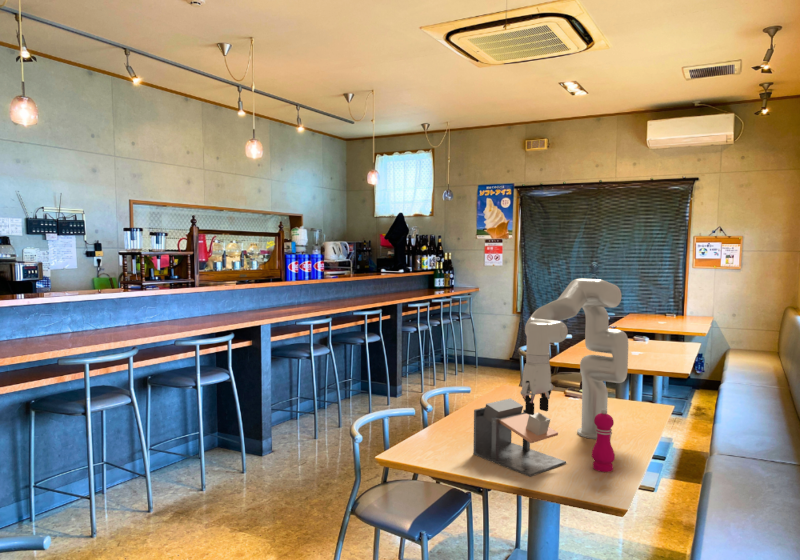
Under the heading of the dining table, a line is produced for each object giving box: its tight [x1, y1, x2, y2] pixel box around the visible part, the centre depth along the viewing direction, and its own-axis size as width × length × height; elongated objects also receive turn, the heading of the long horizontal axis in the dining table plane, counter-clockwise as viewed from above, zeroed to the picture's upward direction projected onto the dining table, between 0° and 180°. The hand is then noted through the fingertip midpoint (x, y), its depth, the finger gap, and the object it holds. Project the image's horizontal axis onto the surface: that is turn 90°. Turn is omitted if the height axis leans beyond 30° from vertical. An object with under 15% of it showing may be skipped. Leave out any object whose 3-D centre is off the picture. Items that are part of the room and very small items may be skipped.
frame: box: [472, 406, 567, 478], centre depth 193 cm, size 19×25×16 cm
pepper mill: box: [591, 409, 616, 473], centre depth 185 cm, size 7×7×20 cm
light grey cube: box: [526, 412, 551, 436], centre depth 187 cm, size 5×5×5 cm
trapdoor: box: [483, 398, 559, 444], centre depth 193 cm, size 14×22×5 cm, turn 38°
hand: (536, 411), depth 187 cm, fingers open, 6 cm apart
